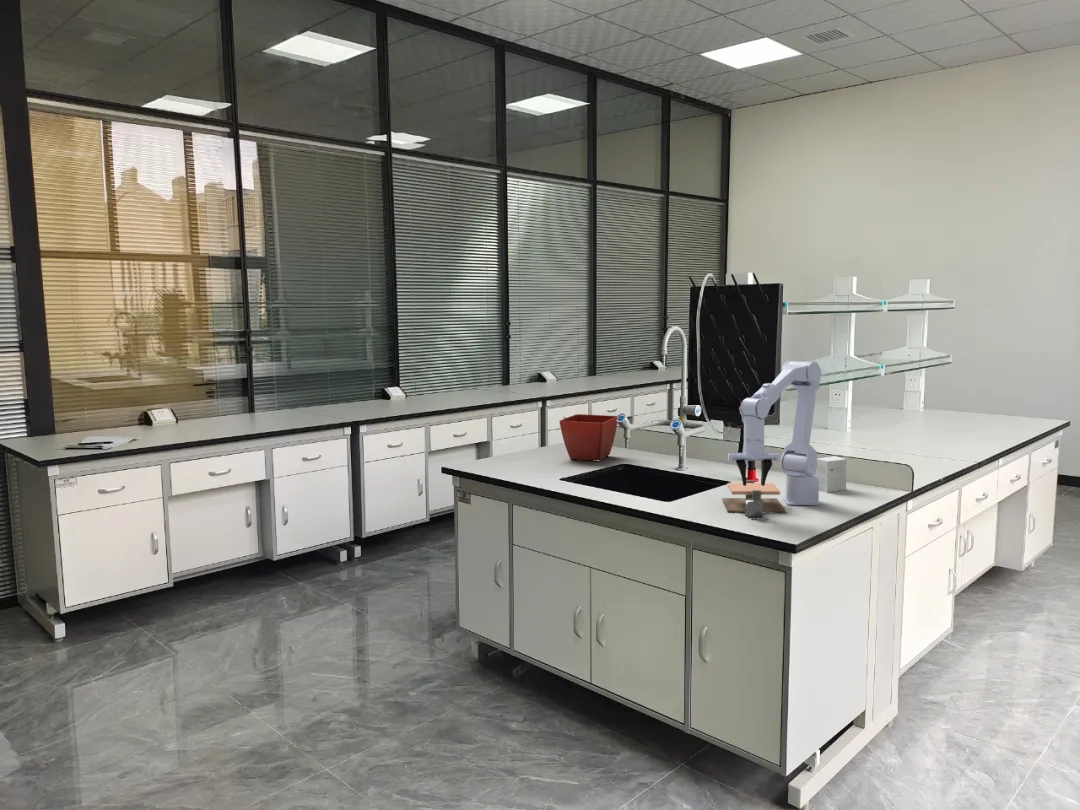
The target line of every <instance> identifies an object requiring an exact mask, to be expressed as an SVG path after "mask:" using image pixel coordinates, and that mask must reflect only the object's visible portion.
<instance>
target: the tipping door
mask: <svg viewBox="0 0 1080 810" xmlns="http://www.w3.org/2000/svg"><path fill="white" fill-rule="evenodd" d="M727 488H728V489H729V491H730V494H731V495H732V496H733V495H735V496H736V495H740V496H741V495H743V496H744V495H752V490H760V491H761V496H763V495H764V496H766V495H767V496H769V495H770V496H772V495H773V496H776V495H777V496H780V495H781V491H780V490H779V488H778V487H777V486H776V484H775V483H773V482H765V486H762V485H761V482H754V483H746V486H744V485H743V482H727Z"/></svg>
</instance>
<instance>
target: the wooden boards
mask: <svg viewBox="0 0 1080 810" xmlns="http://www.w3.org/2000/svg"><path fill="white" fill-rule="evenodd" d="M746 483H755V480H754V479H746ZM748 498H758V499H762V500H763V512H786V513H787V509H785V507H784V506H783V504H781V502H780V500H779V498H777V497H776V498H775V497H771V498H770V497H769V498H768V497H767V498H766V497H765V498H762V495H761V491H760V490H752V495H745V497H744V498H743V497H727V498H726V497H722V498H721V501H722V503H723V505H725V506H724V507H726V508H725V510H726V509H727V510H726V512H727V513H731V512H745V500H746V499H748Z"/></svg>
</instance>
